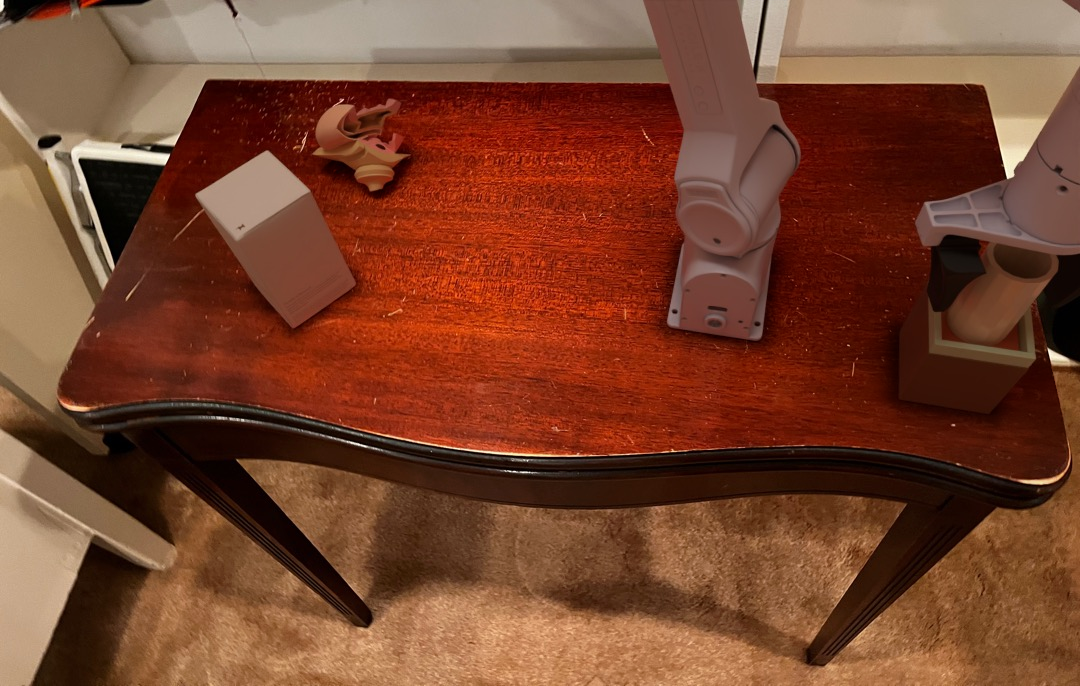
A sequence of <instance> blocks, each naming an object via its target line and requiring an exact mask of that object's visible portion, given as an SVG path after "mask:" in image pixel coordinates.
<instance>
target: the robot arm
mask: <svg viewBox="0 0 1080 686" xmlns="http://www.w3.org/2000/svg"><path fill="white" fill-rule="evenodd" d="M642 1H643V5H644V7H645V11H646V14H647V17H648V20H649V24H650V28H651V30H652V33H653V36H654V40H655V43H656V46H657V49H658V52H659V56H660V59H661V62H662V65H663V68H664V71H665V75H666V77H667V81H668V84H669V87H670V91H671V94H672V95H673V96H672V97H673V100H674V103H675V106H676V109H677V112H678V115H679V116H678V117H679V119H680V122H681V126H682V128H683V134H682V139H681V143H680V148H679V154H678V158H677V161H676V167H675V171H674V177H673V181H674V184H675V187H676V190H677V196H678V199H677V204H676V208H675V219H676V223H677V224H678V226H679V229H680V230H681V231H682V233H683V234H684V241H683V243H682V244H681V249H680V253H679V259H678V265H677V269H676V274H675V279H674V284H673V289H672V295H671V300H670V304H669V309H668V310H669V311H668V315H667V320H666V324H667V326H668V328H671V329H677V330H683V331H684V330H685V331H690V332H697V333H703V334H709V335H715V336H722V337H723V336H724V337H729V338H734V339H742V340H748V341H755V342H757V341H760V340H762V337H763V333H764V332H763V330H764V324H765V323H764V322H765V316H766V315H765V314H766V308H767V307H766V305H767V296H768V290H769V281H770V271H771V264H772V254H773V251H774V247H775V243H776V239H777V235H778V232H779V227H780V224H781V219H782V218H781V217H782V213H781V205H780V199H779V197H780V196H781V194H782V192H783V190H784V188H785V187H786V185H787V183H788V181H789V179H790V178H792V177H793V175H794V173H795V172H796V171H797V170H798V168H799V166H800V163H801V159H802V152H801V151H802V150H801V147H800V144H799V141H798V139H797V138H796V136H795V135H794V134H793V133H792V131H791V129H789V128H788V127H787V125H786V123H785V122H784V120H783V117H782V114H781V111H780V106H779V103H778V102H777V101H775V100H772V99H768V98H764V97H760V93H759V89H758V86H757V85H758V84H757V81H756V77H755V73H754V68H753V64H752V59H751V54H750V51H749V47H748V41H747V37H746V32H745V28H744V24H743V23H744V22H743V19H742V14H741V10H740V6H739V2H738V0H642ZM1061 1H1062V2H1064V4H1067V5H1068V6H1069V7H1071V8H1072V9H1074V10H1075V11H1077V12H1078V13H1079V14H1080V0H1061ZM914 224H915V227H916V231H917V233H918V234H917V235H918V236H919V240H920V242H921V246H922V247H930V269H929V271H930V272H929V278H928V281H929V282H928V281H927V282H928V286H927V293H928V297H929V300H930V303H931V306H932V309H933V311H934V312H944V311H946V310H947V309H948V308H949V307H950V306H951V305H952V304H953V302H954V301H955V299H956V298H957V296H958V295H959V293H960V292H961V291H962V290H963V289H964V288H965V287H966V286H967V285H968V284H969V283H970V282H972V281H973V280H974V279H976V278H978V277H979V276H982V275H984V274H987V273H986V270H985V268H984V265H983V262H982V260H981V257H980V256H981V255H980V254H981V253H980V251H981V249H982V244H981V243H980V241H984V242H989V243H990V242H994V243H999V244H1003V245H1008V246H1013V247H1018V248H1023V249H1028V250H1033V251H1038V252H1043V253H1048V254H1054V255H1056V256H1057V258H1058V260H1059V265H1058V271H1057V273H1056V274H1055V275H1054V277H1053V278H1052V279H1051V280H1050V282H1049V283H1048V284H1047V286H1046V287H1045V288H1044V289H1043V291H1042V292H1043V294H1044V296H1045V298H1046V301H1047V303H1048V305H1049V308H1050V309H1055V308H1061V307H1064V306H1066V305H1067V304H1068V303H1070V302H1072V301H1073V300H1075V299H1077V298H1079V297H1080V65H1079V67H1078V68H1077V70H1076V72H1074V74H1073V76H1072V78H1071V80H1070V81H1069V82H1068V85H1067V86H1066V88H1065V90H1064V92H1063V93H1062V95H1061V96H1060V98H1059V100H1058V102H1057V103H1056V105H1055V106H1054V108H1053V110H1052V111H1051V113H1050V115H1049V116H1048V118H1047V120H1046V122H1045V123H1044V125H1043V126H1042V128H1041V130H1040V131H1039V133H1038V135H1037V136H1036V138H1035V140H1034V142H1033V143H1032V145H1031V146H1030V148H1029V150H1028V152H1027V153H1026V155H1025V156H1024V158H1023V159H1022V160H1021V161H1019V162H1017V164H1016V166H1015V167H1014V169H1013V176H1012V177H1008V178H1006V179H1003V180H1001V181H997V182H994V183H991V184H987V185H985V186H982V187H980V188H976V189H974V190H972V191H968V192H965V193H961V194H959V195H956V196H953V197H949V198H946V199H941V200H932V201H931V200H930V201H924V202H923V204H922V207H921V209H920V211H919V213H918V215H917V217H916V219H915V222H914ZM674 312H675V313H674Z"/></svg>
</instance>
